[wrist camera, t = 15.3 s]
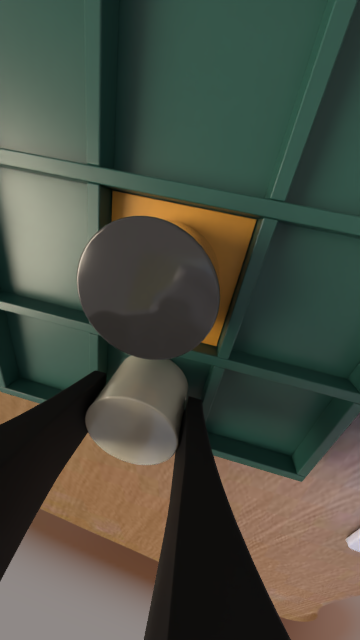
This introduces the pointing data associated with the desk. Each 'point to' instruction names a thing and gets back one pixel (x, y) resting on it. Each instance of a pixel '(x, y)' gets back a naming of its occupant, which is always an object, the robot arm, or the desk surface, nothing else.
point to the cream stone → (140, 411)
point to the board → (192, 199)
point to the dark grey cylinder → (149, 286)
